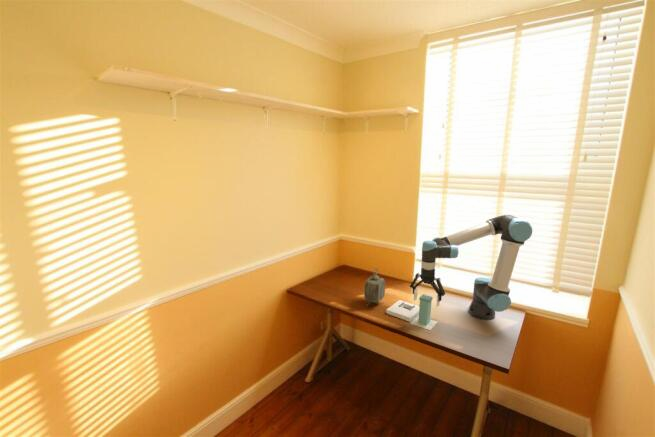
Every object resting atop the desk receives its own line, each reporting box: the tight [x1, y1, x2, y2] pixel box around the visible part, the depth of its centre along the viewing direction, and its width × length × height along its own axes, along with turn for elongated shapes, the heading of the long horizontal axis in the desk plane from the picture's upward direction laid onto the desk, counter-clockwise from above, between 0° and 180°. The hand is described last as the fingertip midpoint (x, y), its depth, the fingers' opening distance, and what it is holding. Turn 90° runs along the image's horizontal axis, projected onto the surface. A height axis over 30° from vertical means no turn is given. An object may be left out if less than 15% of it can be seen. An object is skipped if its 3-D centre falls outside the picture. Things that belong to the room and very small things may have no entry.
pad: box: [409, 315, 438, 331], centre depth 186 cm, size 12×12×1 cm
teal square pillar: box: [418, 293, 433, 326], centre depth 185 cm, size 6×6×16 cm
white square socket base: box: [385, 299, 420, 323], centre depth 199 cm, size 16×18×3 cm
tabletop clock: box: [363, 267, 386, 307], centre depth 207 cm, size 14×9×25 cm, turn 149°
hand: (426, 302), depth 184 cm, fingers open, 13 cm apart
